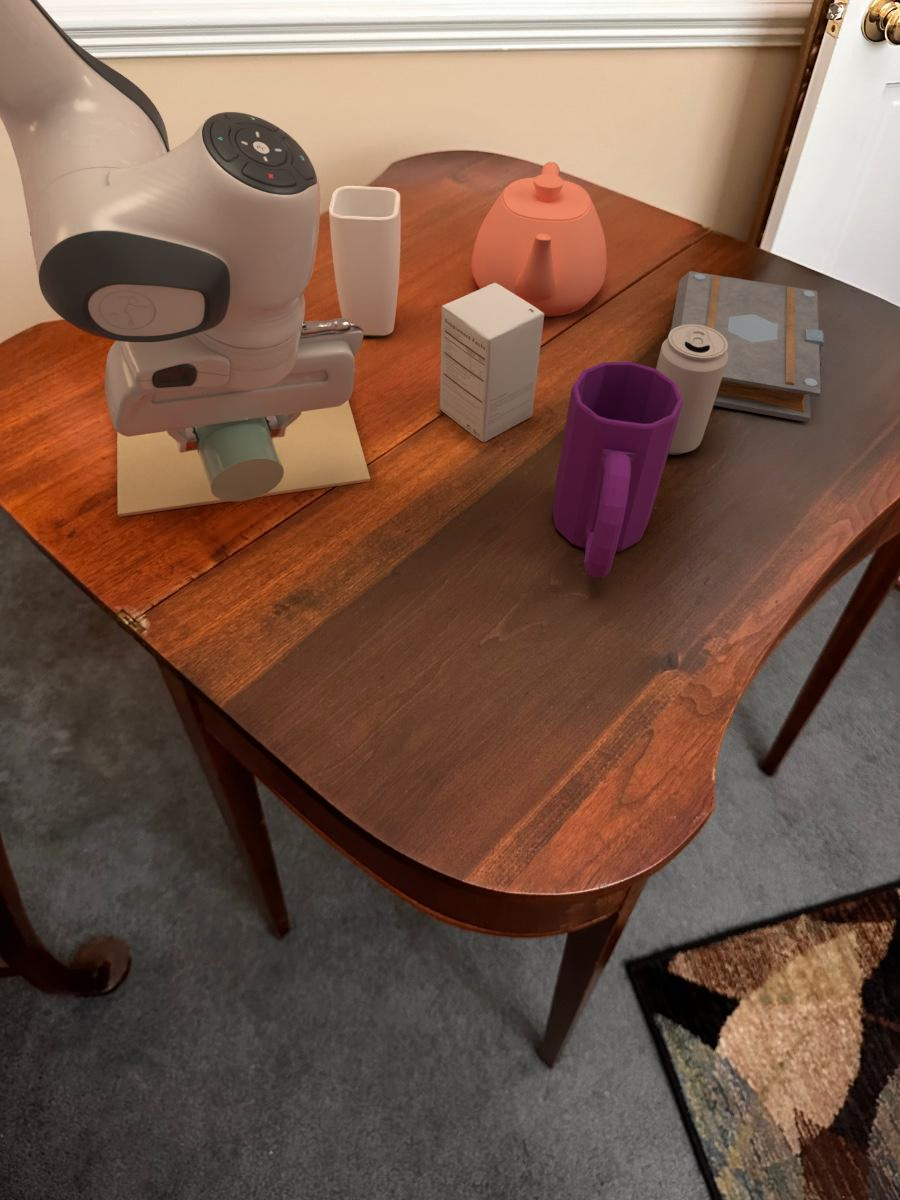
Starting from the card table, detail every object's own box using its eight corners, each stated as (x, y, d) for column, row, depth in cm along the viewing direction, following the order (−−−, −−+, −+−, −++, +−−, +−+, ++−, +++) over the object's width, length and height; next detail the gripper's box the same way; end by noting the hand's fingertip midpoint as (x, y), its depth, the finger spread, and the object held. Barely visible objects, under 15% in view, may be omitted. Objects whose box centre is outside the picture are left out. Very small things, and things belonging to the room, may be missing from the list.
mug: (647, 495, 86) (683, 366, 74) (643, 615, 76) (684, 488, 64) (555, 483, 87) (576, 353, 75) (539, 600, 77) (561, 471, 65)
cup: (398, 344, 101) (397, 219, 90) (336, 341, 101) (326, 216, 90) (402, 310, 106) (401, 187, 95) (342, 307, 106) (334, 184, 94)
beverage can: (636, 452, 90) (661, 352, 81) (642, 415, 94) (667, 316, 85) (698, 463, 89) (731, 364, 80) (701, 425, 93) (733, 326, 84)
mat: (118, 517, 82) (117, 514, 81) (117, 401, 93) (116, 398, 92) (370, 481, 86) (370, 478, 86) (340, 374, 97) (340, 371, 97)
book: (674, 300, 109) (683, 263, 106) (808, 322, 107) (823, 285, 103) (657, 398, 96) (667, 360, 92) (811, 425, 94) (827, 387, 90)
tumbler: (204, 472, 72) (175, 386, 75) (217, 509, 78) (190, 428, 81) (280, 450, 73) (248, 367, 76) (287, 488, 79) (257, 409, 82)
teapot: (600, 352, 101) (621, 242, 91) (458, 338, 102) (463, 227, 92) (603, 247, 117) (621, 143, 107) (480, 235, 118) (486, 131, 108)
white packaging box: (488, 384, 97) (496, 279, 87) (533, 418, 93) (547, 312, 83) (436, 409, 94) (439, 303, 84) (481, 445, 90) (490, 338, 80)
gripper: (354, 288, 71) (327, 395, 83) (92, 310, 63) (104, 426, 75) (380, 348, 69) (349, 449, 81) (113, 379, 61) (122, 487, 73)
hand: (229, 438), depth 78 cm, fingers closed on tumbler, 6 cm apart
